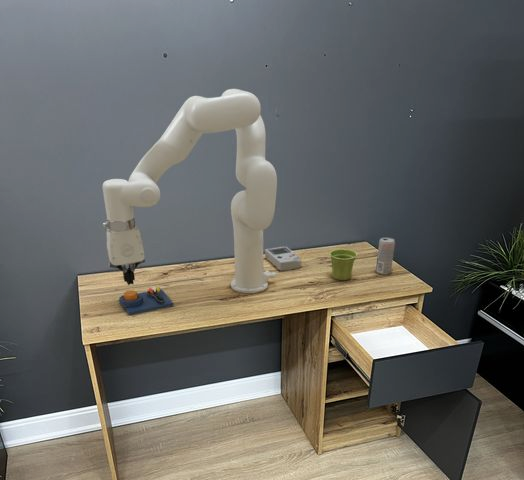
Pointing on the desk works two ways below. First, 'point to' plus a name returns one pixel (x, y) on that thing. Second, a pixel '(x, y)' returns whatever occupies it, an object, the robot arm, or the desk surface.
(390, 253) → the energy drink
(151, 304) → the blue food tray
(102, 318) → the desk surface
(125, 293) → the power button
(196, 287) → the desk surface
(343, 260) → the plant pot
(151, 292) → the composite cable
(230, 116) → the robot arm
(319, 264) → the desk surface
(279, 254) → the handheld gaming device
